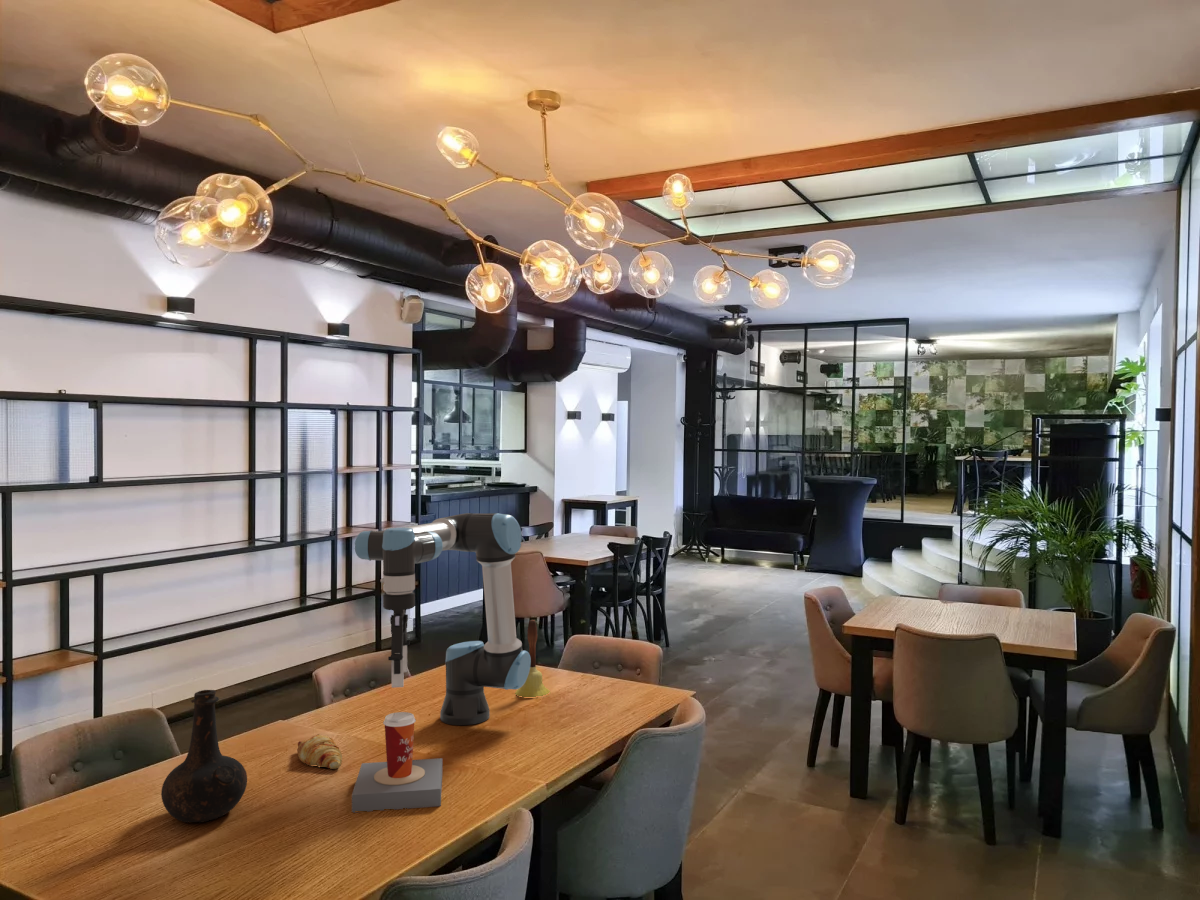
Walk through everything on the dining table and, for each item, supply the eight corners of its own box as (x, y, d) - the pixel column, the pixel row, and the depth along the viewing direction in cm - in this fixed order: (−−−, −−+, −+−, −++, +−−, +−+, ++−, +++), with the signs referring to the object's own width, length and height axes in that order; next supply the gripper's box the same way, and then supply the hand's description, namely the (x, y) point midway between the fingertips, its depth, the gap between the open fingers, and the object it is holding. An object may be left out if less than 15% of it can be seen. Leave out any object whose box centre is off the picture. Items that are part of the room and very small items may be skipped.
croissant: (348, 781, 219) (361, 751, 221) (317, 773, 212) (331, 741, 215) (308, 760, 233) (321, 731, 236) (278, 751, 226) (291, 722, 229)
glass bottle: (191, 839, 178) (190, 708, 179) (144, 820, 188) (144, 695, 188) (263, 809, 194) (263, 688, 194) (217, 792, 203) (216, 677, 203)
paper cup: (407, 781, 198) (407, 722, 198) (377, 778, 200) (377, 720, 200) (421, 768, 206) (421, 712, 206) (392, 766, 208) (392, 710, 208)
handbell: (514, 689, 292) (514, 617, 292) (549, 687, 293) (549, 616, 293) (514, 699, 279) (514, 624, 279) (551, 698, 281) (551, 623, 281)
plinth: (361, 779, 211) (361, 761, 211) (442, 773, 214) (442, 756, 214) (351, 812, 191) (351, 793, 191) (440, 806, 195) (440, 787, 195)
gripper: (387, 584, 215) (388, 666, 215) (378, 601, 190) (378, 694, 190) (417, 583, 216) (418, 665, 216) (411, 600, 191) (412, 692, 191)
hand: (399, 679), depth 203 cm, fingers open, 13 cm apart
